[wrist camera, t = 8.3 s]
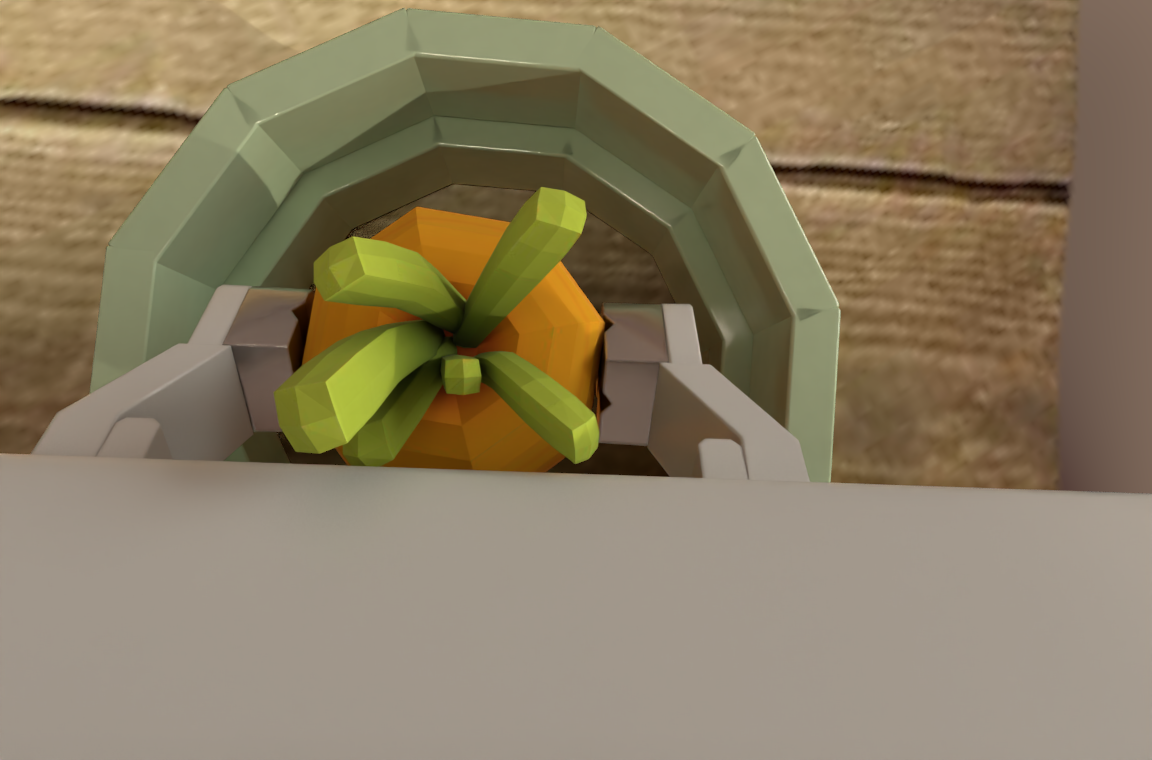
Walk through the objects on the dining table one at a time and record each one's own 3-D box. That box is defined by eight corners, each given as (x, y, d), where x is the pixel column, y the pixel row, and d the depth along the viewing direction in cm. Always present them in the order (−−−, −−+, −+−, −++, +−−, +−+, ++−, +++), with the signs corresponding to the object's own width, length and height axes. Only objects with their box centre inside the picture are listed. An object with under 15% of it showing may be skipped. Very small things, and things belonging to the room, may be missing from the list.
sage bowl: (128, 262, 24) (-29, 196, 17) (616, 43, 25) (642, -99, 18) (356, 761, 23) (281, 889, 17) (847, 518, 24) (961, 549, 18)
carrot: (558, 282, 24) (586, 35, 9) (600, 460, 24) (698, 498, 9) (379, 323, 24) (114, 136, 9) (420, 502, 24) (215, 614, 9)
